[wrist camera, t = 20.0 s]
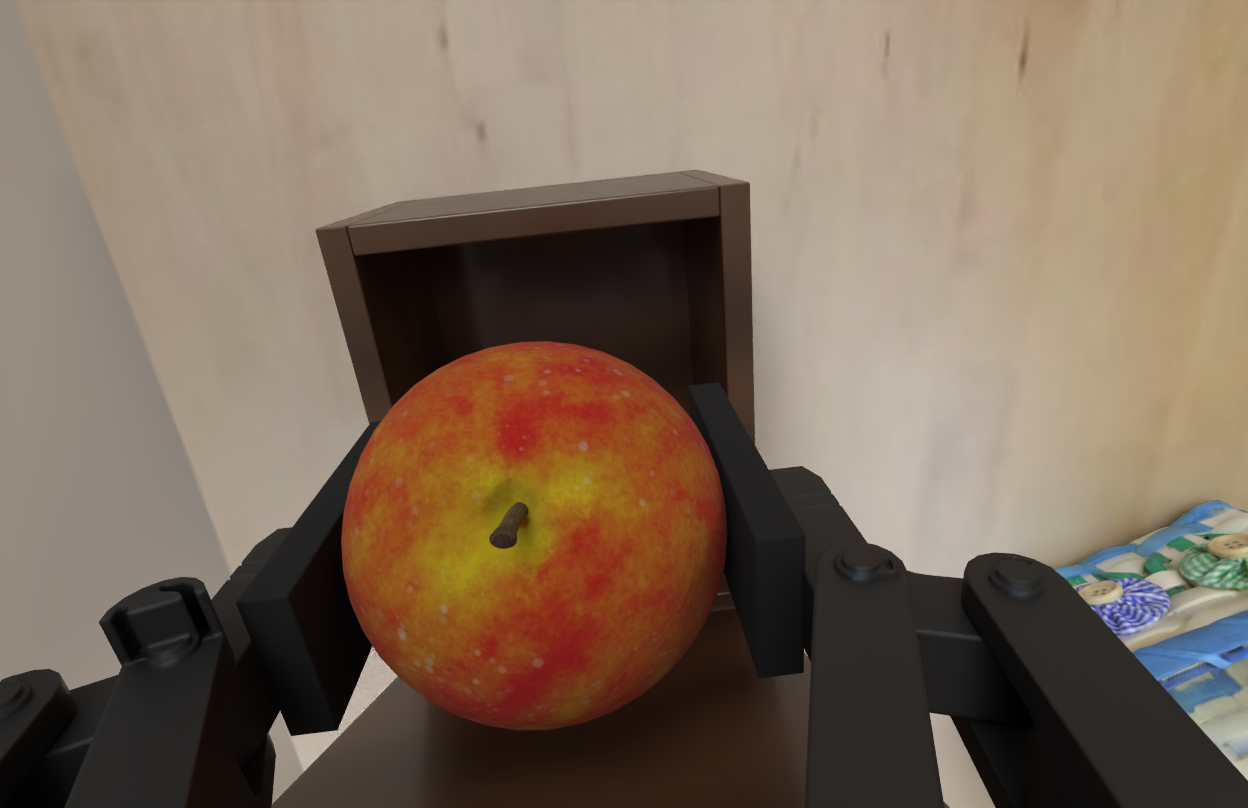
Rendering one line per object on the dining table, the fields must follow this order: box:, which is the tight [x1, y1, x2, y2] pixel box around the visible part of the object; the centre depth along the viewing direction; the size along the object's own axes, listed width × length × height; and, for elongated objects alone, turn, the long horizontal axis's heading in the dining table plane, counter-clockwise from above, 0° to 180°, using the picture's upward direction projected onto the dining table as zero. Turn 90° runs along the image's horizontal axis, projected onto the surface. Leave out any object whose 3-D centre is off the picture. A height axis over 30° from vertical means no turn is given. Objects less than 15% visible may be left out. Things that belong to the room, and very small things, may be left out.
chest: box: [316, 170, 755, 612], centre depth 26 cm, size 16×13×9 cm
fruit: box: [341, 341, 728, 730], centre depth 12 cm, size 7×7×8 cm
